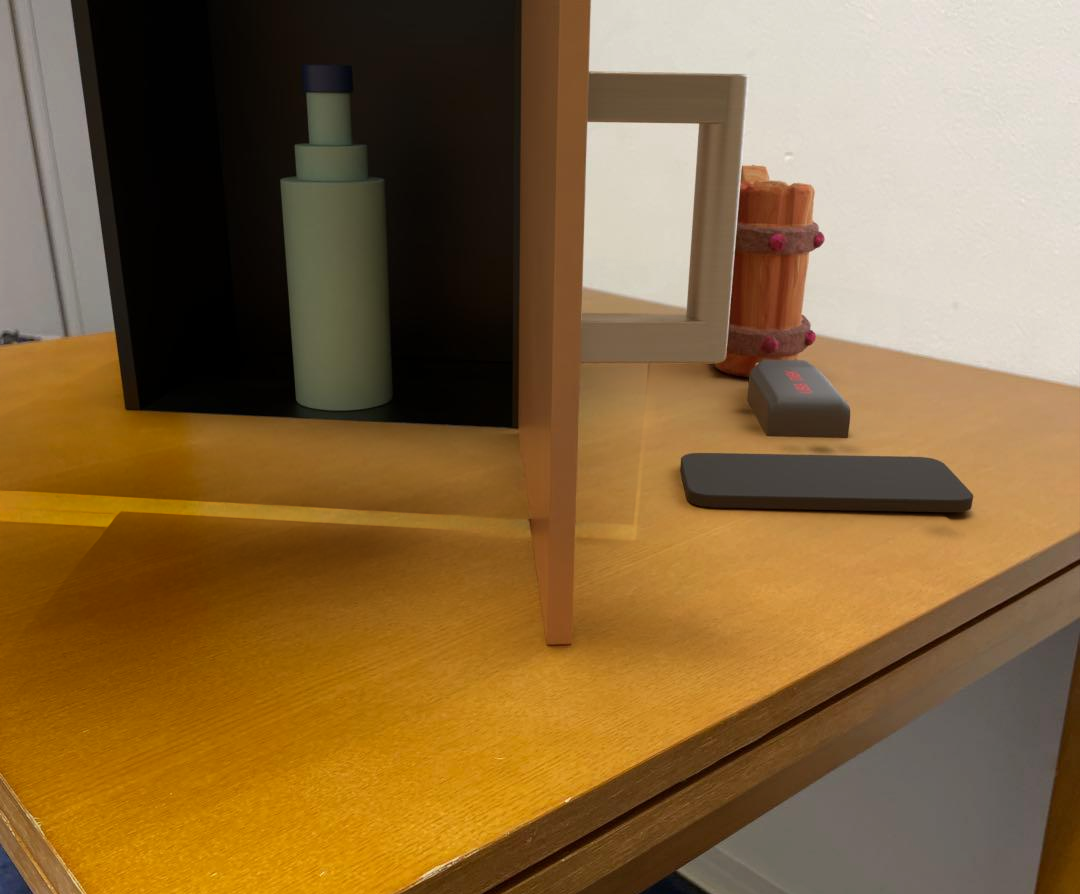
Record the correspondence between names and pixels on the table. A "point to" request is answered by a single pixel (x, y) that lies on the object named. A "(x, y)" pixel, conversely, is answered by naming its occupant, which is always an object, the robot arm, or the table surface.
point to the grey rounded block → (796, 400)
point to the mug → (770, 272)
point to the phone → (822, 482)
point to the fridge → (269, 155)
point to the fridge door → (558, 248)
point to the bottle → (336, 257)
